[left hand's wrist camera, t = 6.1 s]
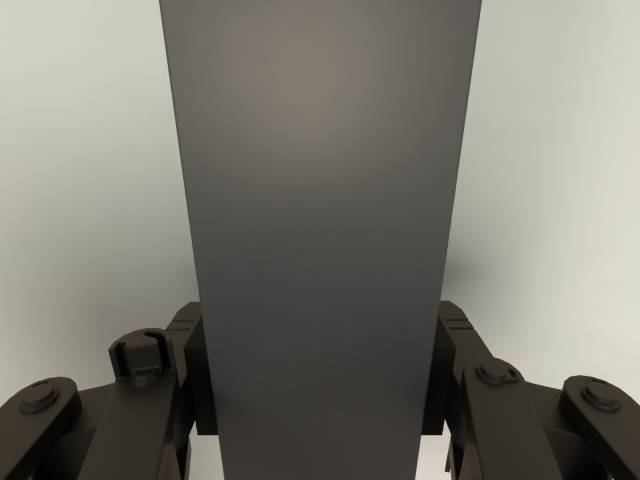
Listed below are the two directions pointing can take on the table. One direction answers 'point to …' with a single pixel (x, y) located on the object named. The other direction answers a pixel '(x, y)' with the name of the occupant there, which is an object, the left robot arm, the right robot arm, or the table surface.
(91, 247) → the table surface
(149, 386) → the left robot arm
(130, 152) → the table surface
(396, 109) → the plank
